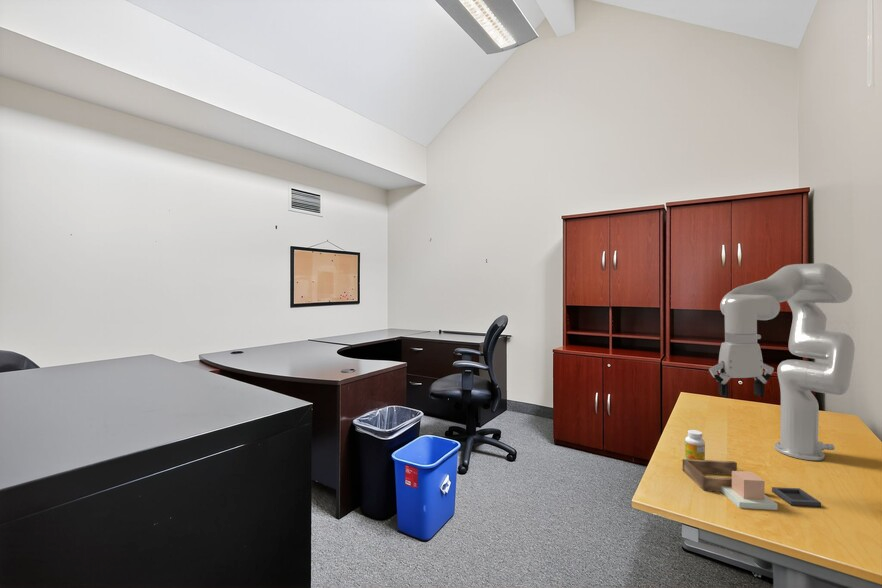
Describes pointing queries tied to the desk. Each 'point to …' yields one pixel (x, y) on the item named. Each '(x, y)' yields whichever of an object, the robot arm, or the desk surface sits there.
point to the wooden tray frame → (708, 466)
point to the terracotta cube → (748, 485)
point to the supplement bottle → (694, 446)
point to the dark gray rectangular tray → (796, 497)
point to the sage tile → (748, 500)
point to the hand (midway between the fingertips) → (741, 396)
